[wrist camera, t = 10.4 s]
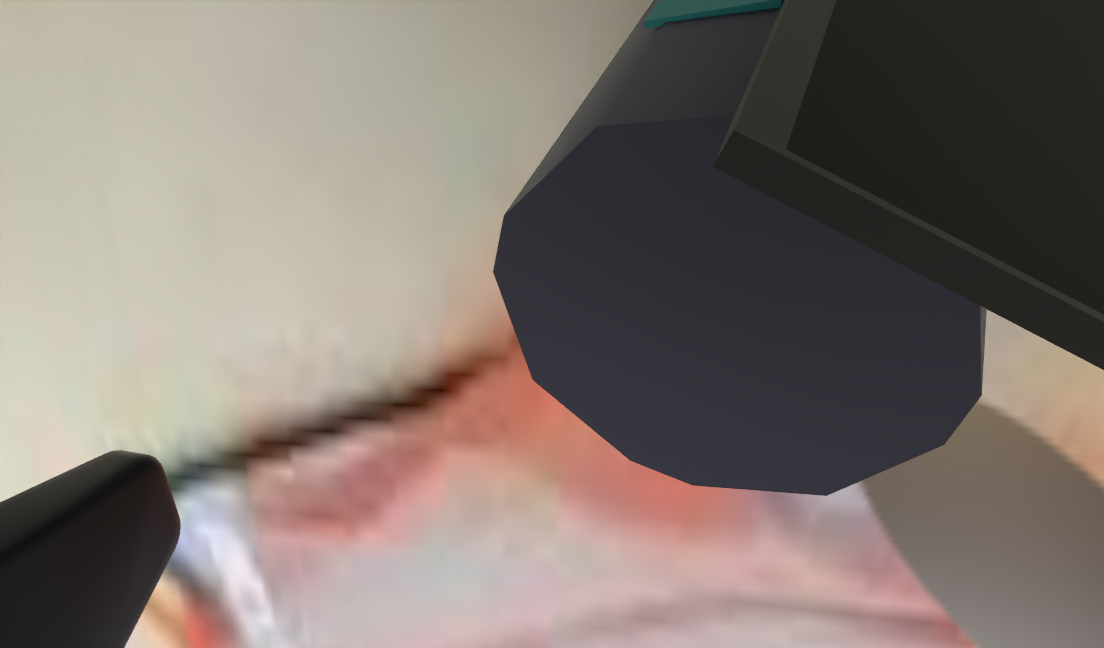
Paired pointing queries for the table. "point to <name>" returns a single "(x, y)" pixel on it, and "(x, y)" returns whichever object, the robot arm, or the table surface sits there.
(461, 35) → the table surface
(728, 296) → the speaker
